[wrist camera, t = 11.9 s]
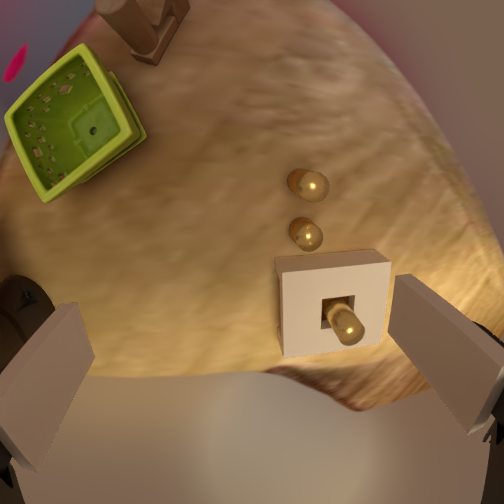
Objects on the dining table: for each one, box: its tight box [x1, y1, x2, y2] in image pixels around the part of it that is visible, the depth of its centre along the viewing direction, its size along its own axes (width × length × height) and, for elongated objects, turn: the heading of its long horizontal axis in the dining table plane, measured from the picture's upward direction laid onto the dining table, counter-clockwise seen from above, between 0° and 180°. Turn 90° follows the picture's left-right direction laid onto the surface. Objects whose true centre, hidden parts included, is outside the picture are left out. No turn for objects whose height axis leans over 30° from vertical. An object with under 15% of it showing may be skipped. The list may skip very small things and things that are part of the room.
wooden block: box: [94, 0, 190, 65], centre depth 26 cm, size 4×11×18 cm, turn 156°
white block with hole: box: [275, 249, 391, 359], centre depth 46 cm, size 16×14×6 cm
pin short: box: [289, 217, 323, 252], centre depth 43 cm, size 4×4×5 cm
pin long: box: [322, 297, 365, 346], centre depth 43 cm, size 4×4×12 cm
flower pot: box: [4, 43, 147, 203], centre depth 32 cm, size 14×14×13 cm
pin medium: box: [287, 169, 329, 202], centre depth 39 cm, size 4×4×8 cm
